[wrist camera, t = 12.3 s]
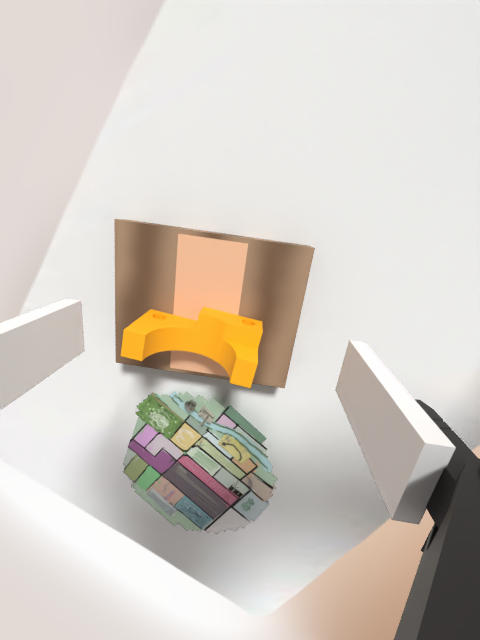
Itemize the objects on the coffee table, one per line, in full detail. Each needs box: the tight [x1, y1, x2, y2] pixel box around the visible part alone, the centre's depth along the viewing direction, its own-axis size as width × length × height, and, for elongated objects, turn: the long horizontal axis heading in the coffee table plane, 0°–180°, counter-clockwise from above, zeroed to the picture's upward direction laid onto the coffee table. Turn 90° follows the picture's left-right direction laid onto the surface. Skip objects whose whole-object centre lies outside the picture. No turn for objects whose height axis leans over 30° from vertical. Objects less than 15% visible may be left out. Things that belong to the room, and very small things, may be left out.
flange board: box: [115, 219, 315, 388], centre depth 32 cm, size 20×16×3 cm
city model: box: [123, 392, 277, 534], centre depth 39 cm, size 25×23×6 cm
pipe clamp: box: [121, 307, 263, 388], centre depth 28 cm, size 12×4×6 cm, turn 76°
